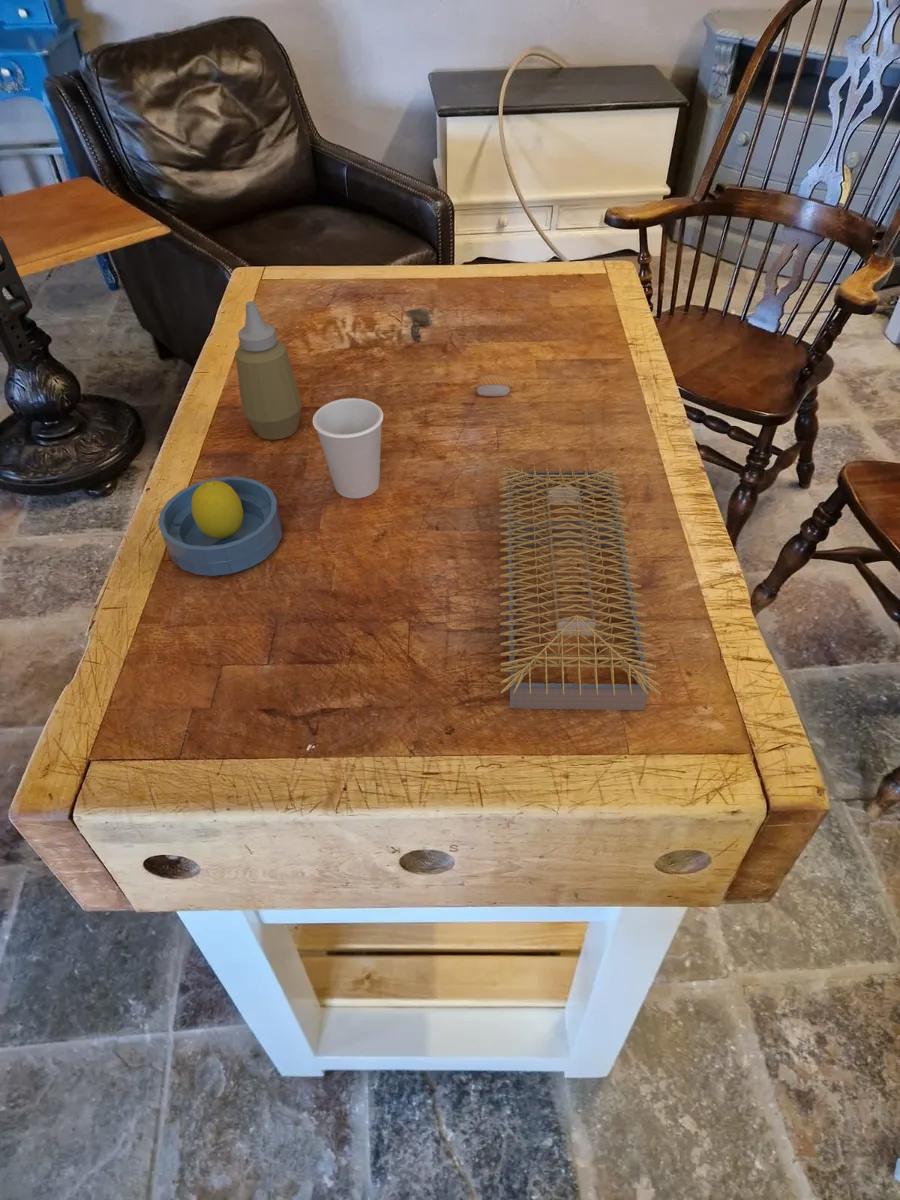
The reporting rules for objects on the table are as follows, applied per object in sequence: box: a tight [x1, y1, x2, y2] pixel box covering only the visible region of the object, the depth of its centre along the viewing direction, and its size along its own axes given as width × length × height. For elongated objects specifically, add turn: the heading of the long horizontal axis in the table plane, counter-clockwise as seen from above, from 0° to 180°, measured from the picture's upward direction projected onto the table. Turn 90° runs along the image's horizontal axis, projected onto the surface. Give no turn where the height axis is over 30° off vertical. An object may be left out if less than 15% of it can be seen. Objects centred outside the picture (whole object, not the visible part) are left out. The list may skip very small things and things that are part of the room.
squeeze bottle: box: [234, 300, 303, 441], centre depth 104 cm, size 8×8×18 cm
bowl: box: [157, 475, 283, 577], centre depth 92 cm, size 13×13×4 cm
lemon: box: [191, 481, 243, 539], centre depth 91 cm, size 6×6×8 cm
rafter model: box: [499, 465, 662, 711], centre depth 85 cm, size 35×14×6 cm, turn 178°
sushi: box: [469, 373, 515, 397], centre depth 115 cm, size 3×6×3 cm, turn 88°
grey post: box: [406, 308, 433, 342], centre depth 131 cm, size 12×1×5 cm
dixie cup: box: [312, 397, 384, 499], centre depth 98 cm, size 8×8×10 cm
